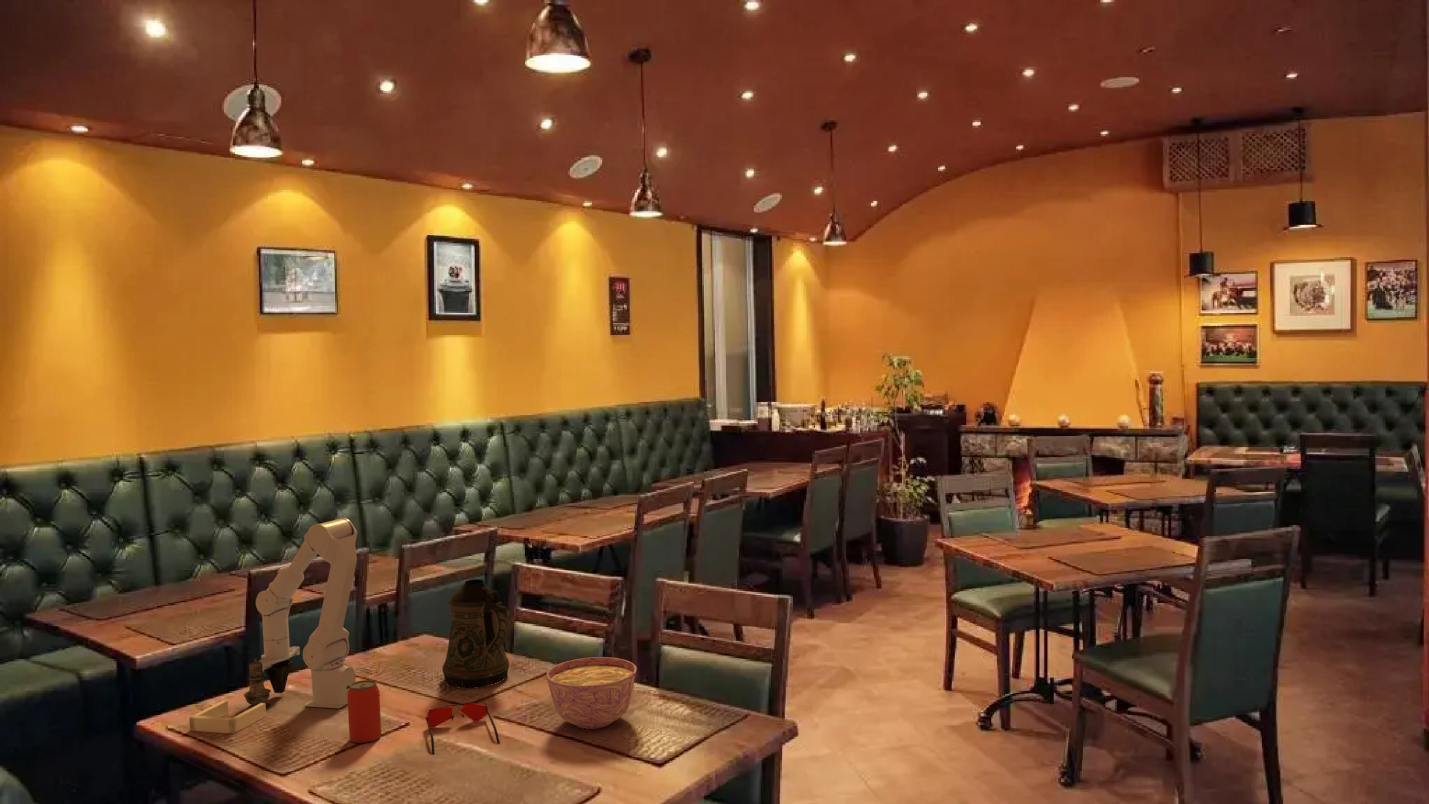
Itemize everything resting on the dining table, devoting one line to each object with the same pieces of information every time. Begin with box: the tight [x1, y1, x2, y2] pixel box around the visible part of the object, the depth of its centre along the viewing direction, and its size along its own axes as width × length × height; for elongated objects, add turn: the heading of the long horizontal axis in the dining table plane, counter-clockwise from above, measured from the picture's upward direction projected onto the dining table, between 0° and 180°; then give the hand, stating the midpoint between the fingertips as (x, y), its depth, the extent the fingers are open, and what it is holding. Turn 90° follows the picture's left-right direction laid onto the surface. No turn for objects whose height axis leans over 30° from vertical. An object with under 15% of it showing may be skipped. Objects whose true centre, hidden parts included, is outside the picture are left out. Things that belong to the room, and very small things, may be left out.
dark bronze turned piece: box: [243, 657, 272, 711], centre depth 242 cm, size 6×6×12 cm
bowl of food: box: [545, 656, 638, 730], centre depth 226 cm, size 20×20×12 cm
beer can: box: [347, 679, 382, 744], centre depth 220 cm, size 7×7×12 cm
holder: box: [188, 700, 267, 735], centre depth 232 cm, size 11×11×3 cm
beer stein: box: [441, 578, 512, 689], centre depth 258 cm, size 16×19×25 cm
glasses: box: [424, 701, 501, 755], centre depth 221 cm, size 14×16×5 cm
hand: (279, 692), depth 250 cm, fingers closed
